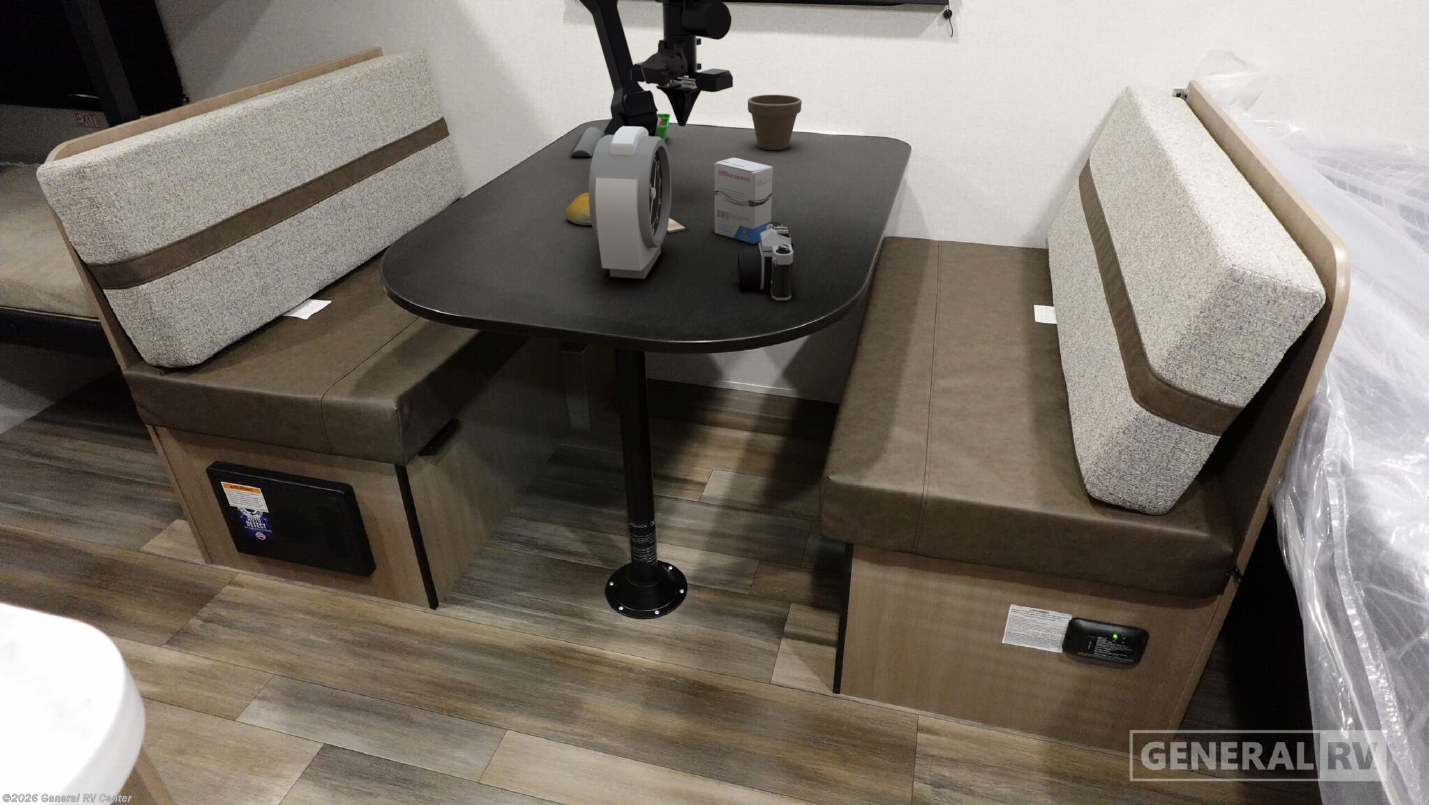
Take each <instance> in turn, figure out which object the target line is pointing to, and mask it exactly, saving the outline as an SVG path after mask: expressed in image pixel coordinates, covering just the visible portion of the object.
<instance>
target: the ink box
mask: <svg viewBox="0 0 1429 805" xmlns="http://www.w3.org/2000/svg"><path fill="white" fill-rule="evenodd" d="M713 165H714V166H713V167H714V169H713V170H714V171H713V173H714V175H713V176H714V178H713V179H714V180H713V182H714V185H713V186H714V233H715V234H716V235H720V236H724V237H728V238H730V239H735V240H737V241H742V242H744V243H748V244H751V245H754V244H757V243H760V233H762V232H764V231H765V229H767V226H768V225H769V224H770V223H771V222H772V208H773V207H772V206H773V204H772V202H773V198H772V197H773V169H774V168H773V166H771V165H767V164H764V163H760V162H755V161H750V160H746V159H742V158H738V157H735V156H734V157H730V158H727V159H722V160H719V161H718V160H717V161H716V162H714V164H713Z"/></svg>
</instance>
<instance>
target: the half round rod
mask: <svg viewBox="0 0 1429 805" xmlns="http://www.w3.org/2000/svg"><path fill="white" fill-rule="evenodd" d="M601 137H603V133H602V130H600V129H599V128H598V127H595V126H590V127H588V128H586V129H585V131H584V132H583V134H582V136H581V138H580V140H579V141H578V142H577V145H576V147H575V148H574V150H573V152H572V153H571V157H593V153H594V150H595V147H596V145H597V143H598V141H599V140H600V138H601Z"/></svg>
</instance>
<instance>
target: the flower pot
mask: <svg viewBox="0 0 1429 805" xmlns="http://www.w3.org/2000/svg"><path fill="white" fill-rule="evenodd" d="M802 102H803V101H802V99H801V98H799V97H798V96H794V95H789V94H788V95H787V94H760V95H754V96H751V97H749V98H748V99H747V112H748V113H750V114H751V118H752V123H753V128H754V133H755V138H756V143H757V146H758V148H760V149H762V150H764V151H781V150H786V149H787V148H788V147H789V145H790V142H791V139H792V134H793V130H794V127H795V124H796V119H797V117H798V114H800V113H801V112H802Z"/></svg>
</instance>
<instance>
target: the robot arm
mask: <svg viewBox="0 0 1429 805" xmlns="http://www.w3.org/2000/svg"><path fill="white" fill-rule="evenodd" d="M578 1H579V2H580V3H581V4H582V5H583V7H585V8H586V9H587V11H588V12H589V13H590V15H591V16H592V20H593V23H594V26H595V30H596V33H597V36H598V40H599V44H600V48H601V51H602V54H603V58H604V61H605V64H606V69H607V73H608V75H609V79H610V82H611V86H612V89H613V94H612V98H611V102H610V106H609V108H610V114H611V118H610V120H609V122H608V123H607V125H606V126H605V129H603V133H604V136H606V135H615V133H616V132H617V131H618V129H619V128H621V127H622V126H632V127H644V128H645V129H647V131H648V136H651V137H655V133H656V128H657V123H658V114H659V113H658V112H659V110H658V107H657V105H656V103H655V97H654V93H653V92H652V90H650V89H649V90H648V89H647V90H645V89H644V88H643V87H642V86H641V84H640V83H645V84H646V85H651V84H654V85H655V88H656V89H657V90H660V91H661V92H662V93H663V94H665V96H666V97H667V99H668V101H669V103H670V106H671V108H672V111H673V114H674V117H675V119H676V122H677V124H678V126H679V127H685V126H686V125H687V123H688V120H689V119H690V116H691V113H692V112H693V108H694V106H695V103H696V101H698V97H699V96H700V94H701V92H706V93H717V92H722V91H725V90H727V89H731V88H734V77H733V74H732V72H731V71H730V70H729V69H723V68H722V69H721V68H714V67H713V68H709V69H706V70H702V63H701V62H698V46H701V45H702V38H704V39H709V40H716V41H718V40H721V39H723V38H725V37H726V36H727V35H728V33H729V31H730V29H731V27H732V15H731V11H730V9H729V7H728V6H727V5H726V4H725V3H724V2H723V0H654V2H655V3H659V4H662V5H661V7H662V8H661V10H662V37H663V39H659V40H658V43H657V50H656V51H657V52H655V53H653V54H652V55H651V54H650V56H649V57H648V58H646V59H645V60H644V61H641V62H640V61H639V62H636V63H634V62H633V57H632V55H631V51H630V48H629V44H628V40H627V36H626V33H625V29H624V26H623V23H622V19H621V15H620V11H619V8H618V4H619V0H578ZM700 70H702V71H700Z"/></svg>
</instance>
